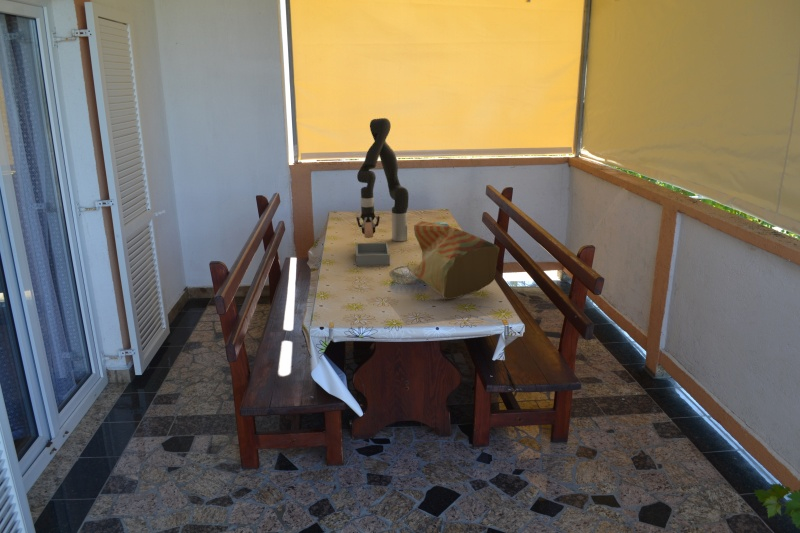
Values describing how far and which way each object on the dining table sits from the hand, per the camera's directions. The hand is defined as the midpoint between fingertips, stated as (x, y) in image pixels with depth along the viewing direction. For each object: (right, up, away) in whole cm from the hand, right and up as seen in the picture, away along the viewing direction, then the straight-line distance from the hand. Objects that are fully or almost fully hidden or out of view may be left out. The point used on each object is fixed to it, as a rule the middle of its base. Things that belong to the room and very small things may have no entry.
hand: (368, 233), depth 373 cm
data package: (+42, -5, +15) cm, 44 cm away
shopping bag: (+43, -30, -62) cm, 81 cm away
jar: (0, -2, +1) cm, 2 cm away
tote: (+3, -15, -18) cm, 24 cm away
